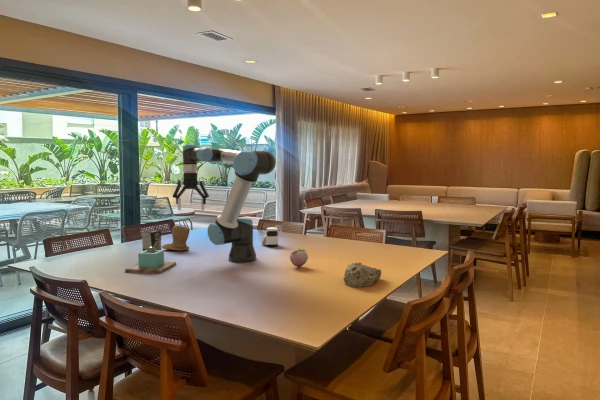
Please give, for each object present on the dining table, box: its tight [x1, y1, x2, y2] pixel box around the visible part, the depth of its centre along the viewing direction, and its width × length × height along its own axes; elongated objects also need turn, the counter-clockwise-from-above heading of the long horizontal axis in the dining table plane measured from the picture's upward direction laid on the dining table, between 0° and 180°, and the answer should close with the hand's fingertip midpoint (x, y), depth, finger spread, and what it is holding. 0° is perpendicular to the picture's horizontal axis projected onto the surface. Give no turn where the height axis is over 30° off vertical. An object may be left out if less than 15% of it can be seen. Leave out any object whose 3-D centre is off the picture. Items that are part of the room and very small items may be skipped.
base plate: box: [124, 261, 177, 274], centre depth 212 cm, size 18×18×2 cm
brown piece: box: [161, 225, 190, 252], centre depth 258 cm, size 15×12×15 cm
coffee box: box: [141, 229, 162, 252], centre depth 230 cm, size 9×6×16 cm
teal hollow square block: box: [137, 249, 165, 268], centre depth 212 cm, size 9×9×7 cm
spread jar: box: [260, 226, 279, 248], centre depth 272 cm, size 12×11×12 cm
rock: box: [343, 262, 382, 288], centre depth 189 cm, size 21×14×10 cm
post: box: [147, 247, 155, 253], centre depth 212 cm, size 4×4×11 cm
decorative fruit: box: [289, 248, 309, 268], centre depth 215 cm, size 9×8×10 cm
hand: (191, 210), depth 238 cm, fingers open, 13 cm apart
